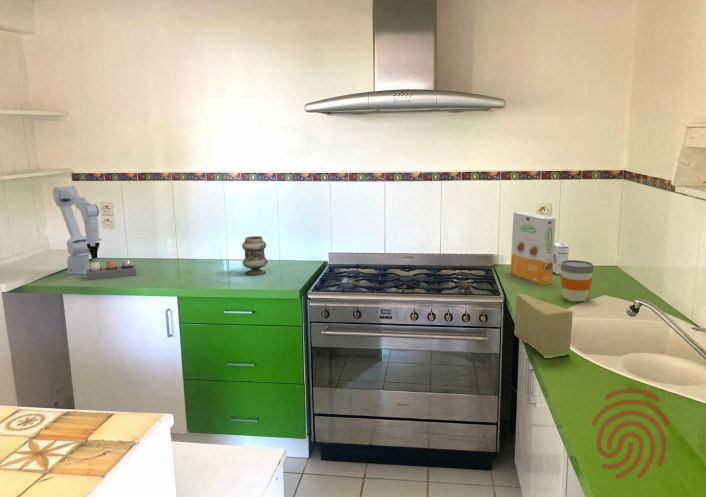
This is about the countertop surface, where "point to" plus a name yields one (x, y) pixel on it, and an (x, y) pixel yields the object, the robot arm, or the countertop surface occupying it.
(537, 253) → the cereal box
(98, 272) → the button panel
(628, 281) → the countertop surface
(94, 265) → the ivory plunger
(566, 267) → the reusable coffee cup
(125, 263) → the steel plunger
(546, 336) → the cheese
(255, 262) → the apothecary jar
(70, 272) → the robot arm
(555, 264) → the syrup box
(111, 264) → the brick-red plunger
